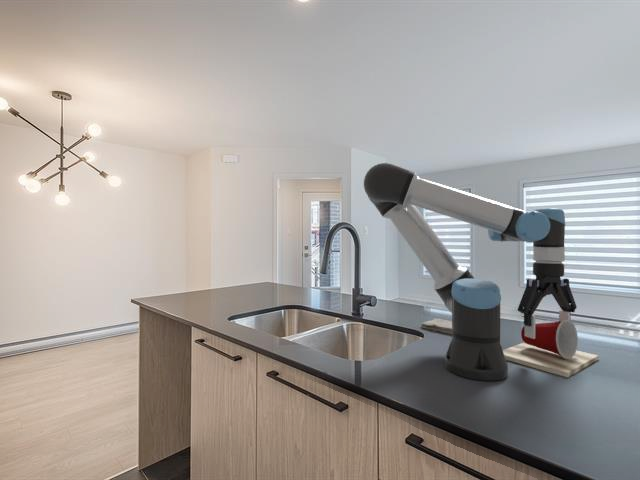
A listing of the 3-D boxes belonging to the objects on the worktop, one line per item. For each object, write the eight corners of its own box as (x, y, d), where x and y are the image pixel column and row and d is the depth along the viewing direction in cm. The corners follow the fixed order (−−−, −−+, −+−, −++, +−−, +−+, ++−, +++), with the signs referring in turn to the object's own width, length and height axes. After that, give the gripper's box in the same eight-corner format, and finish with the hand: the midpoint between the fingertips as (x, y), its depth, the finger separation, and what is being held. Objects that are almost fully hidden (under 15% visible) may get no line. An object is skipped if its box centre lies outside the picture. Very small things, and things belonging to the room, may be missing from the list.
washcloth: (434, 323, 139) (434, 316, 139) (478, 332, 126) (478, 324, 126) (419, 329, 131) (419, 321, 131) (464, 339, 118) (464, 330, 118)
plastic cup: (529, 360, 102) (572, 368, 92) (510, 335, 100) (552, 340, 90) (542, 334, 107) (585, 338, 96) (525, 309, 105) (566, 311, 94)
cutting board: (567, 377, 83) (567, 372, 83) (495, 356, 98) (495, 352, 98) (598, 359, 96) (598, 355, 96) (530, 343, 111) (530, 340, 111)
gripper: (565, 260, 104) (565, 328, 104) (504, 261, 96) (503, 335, 96) (592, 262, 97) (591, 335, 97) (527, 263, 89) (526, 343, 89)
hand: (547, 335), depth 97 cm, fingers open, 13 cm apart
